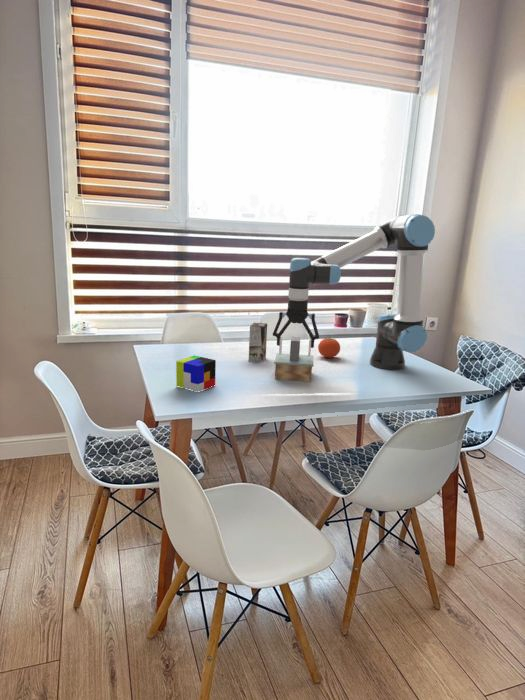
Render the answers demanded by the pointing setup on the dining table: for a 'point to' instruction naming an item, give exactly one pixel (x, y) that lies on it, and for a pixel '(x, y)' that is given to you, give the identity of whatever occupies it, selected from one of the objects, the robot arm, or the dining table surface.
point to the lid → (294, 355)
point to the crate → (293, 372)
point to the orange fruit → (329, 347)
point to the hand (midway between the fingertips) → (294, 354)
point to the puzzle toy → (195, 373)
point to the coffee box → (257, 342)
